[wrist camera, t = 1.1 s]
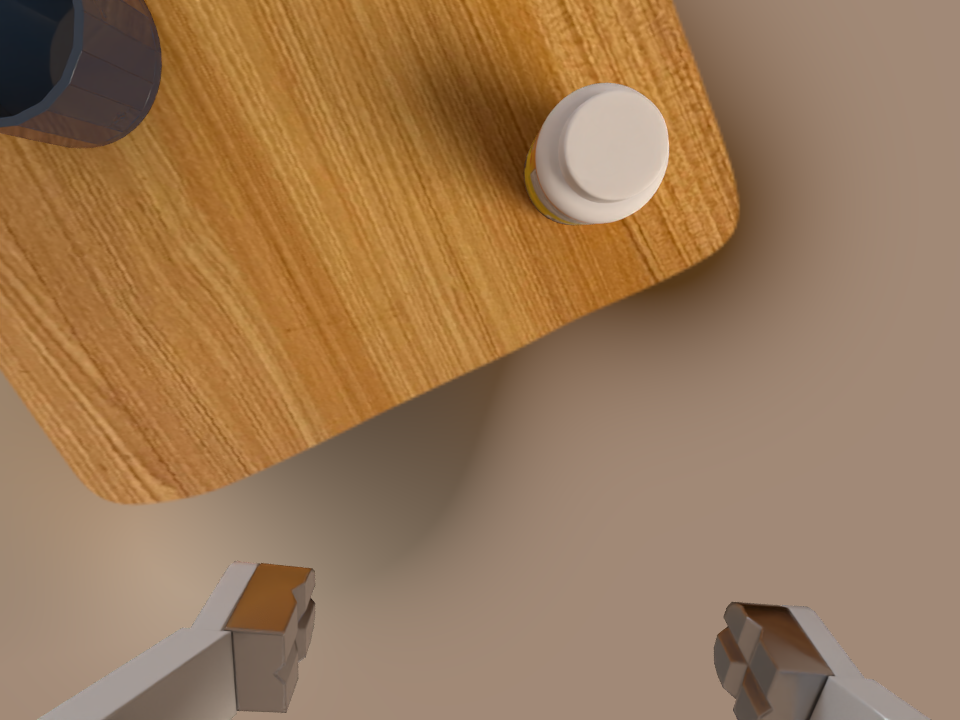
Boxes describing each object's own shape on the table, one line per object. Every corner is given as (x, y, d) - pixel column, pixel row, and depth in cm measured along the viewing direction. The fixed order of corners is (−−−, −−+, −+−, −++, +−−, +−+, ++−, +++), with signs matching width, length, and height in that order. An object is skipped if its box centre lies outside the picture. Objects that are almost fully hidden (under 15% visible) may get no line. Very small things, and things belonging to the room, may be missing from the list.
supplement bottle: (591, 99, 30) (649, 31, 20) (639, 191, 31) (717, 171, 21) (502, 156, 30) (515, 118, 20) (552, 244, 31) (587, 249, 21)
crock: (180, 138, 30) (108, 114, 24) (5, 158, 30) (-109, 139, 24) (136, -67, 28) (45, -148, 22) (-53, -45, 28) (-192, -118, 22)
